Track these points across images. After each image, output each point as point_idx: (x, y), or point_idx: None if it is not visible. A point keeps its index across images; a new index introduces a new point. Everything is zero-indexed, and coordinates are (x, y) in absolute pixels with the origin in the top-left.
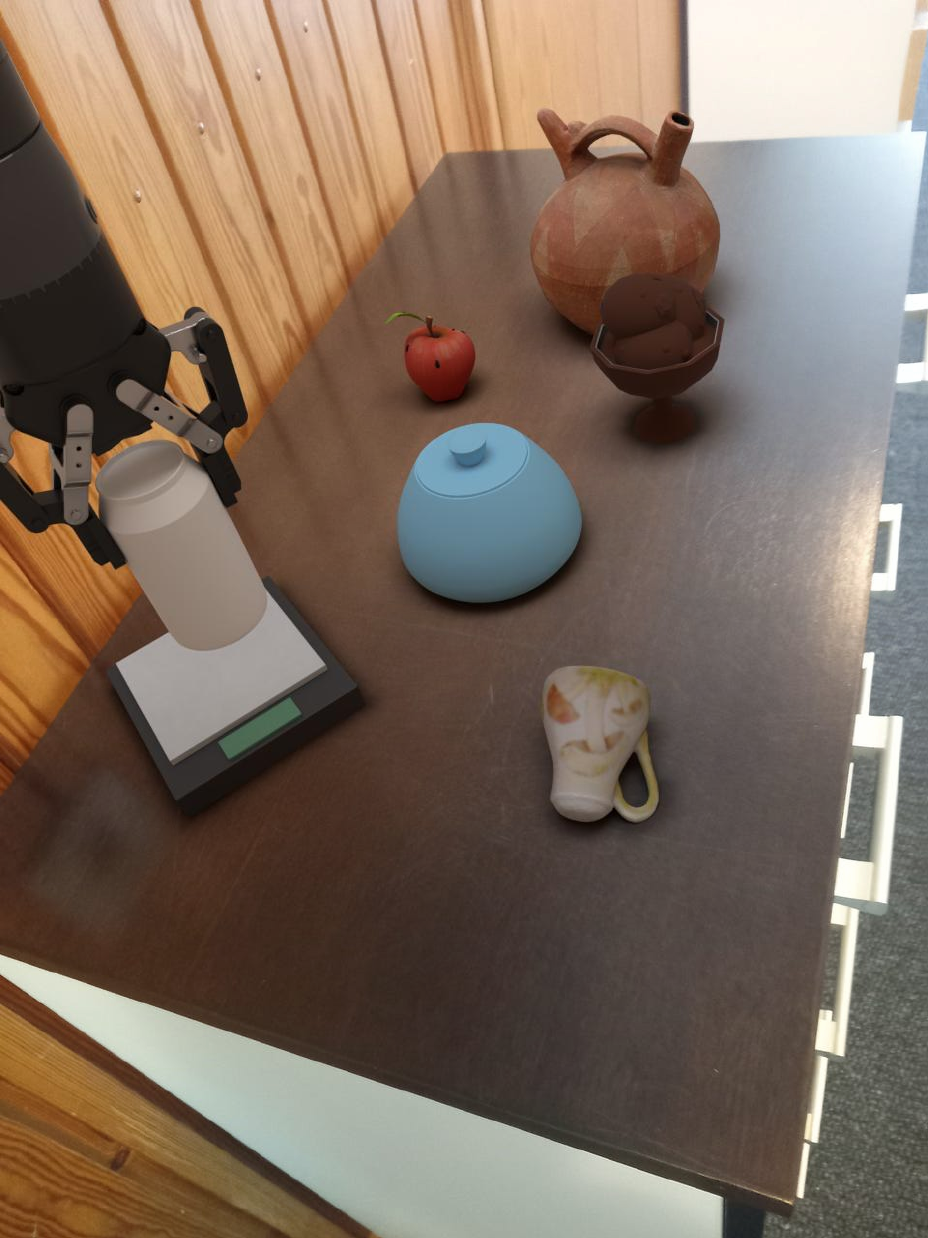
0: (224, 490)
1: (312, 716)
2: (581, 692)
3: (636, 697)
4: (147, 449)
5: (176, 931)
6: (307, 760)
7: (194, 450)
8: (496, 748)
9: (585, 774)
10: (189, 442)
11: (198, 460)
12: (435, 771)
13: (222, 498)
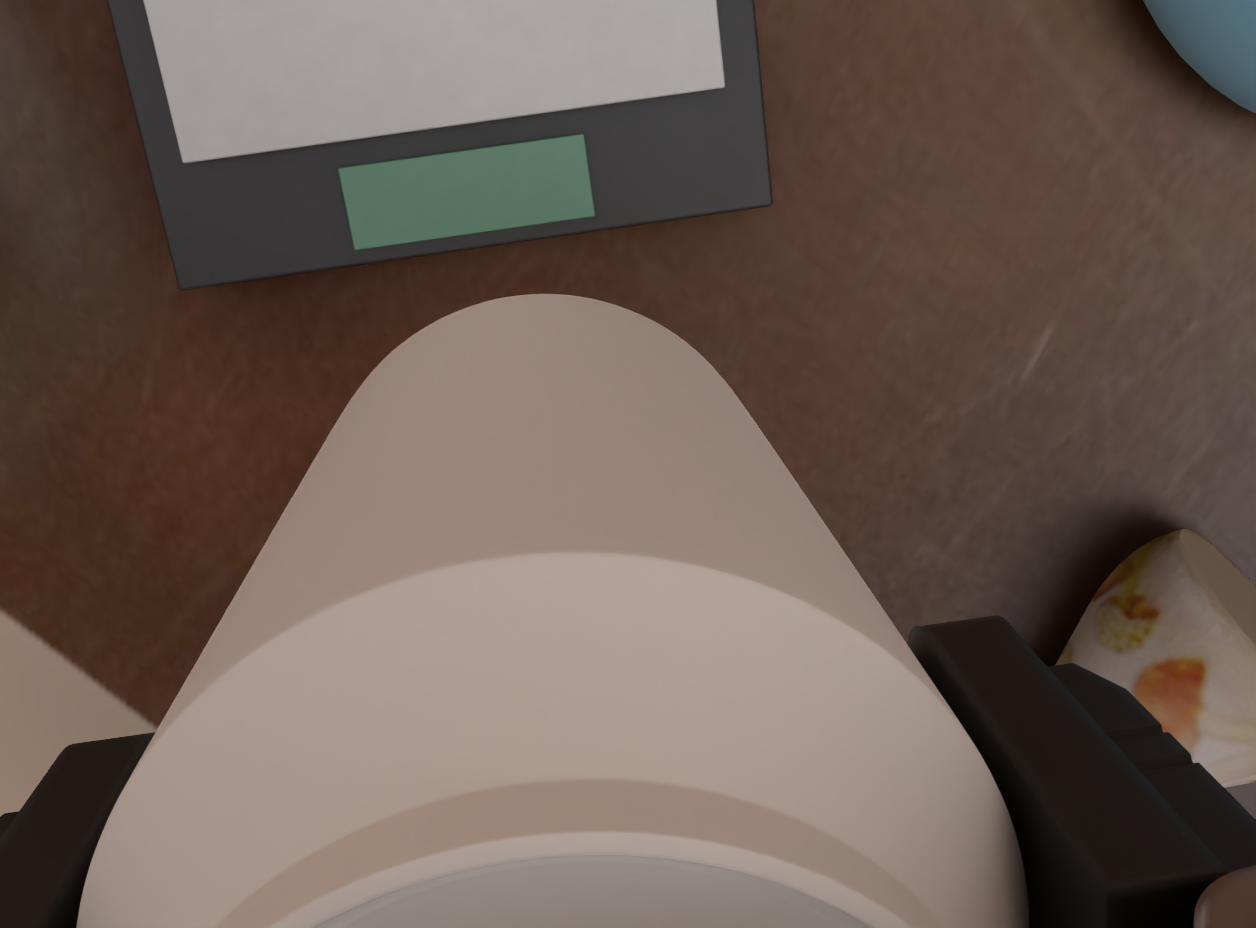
0: None
1: (618, 227)
2: (1240, 743)
3: None
4: (727, 926)
5: (127, 558)
6: (549, 275)
7: (1079, 923)
8: (960, 503)
9: None
10: (1103, 888)
11: (1014, 764)
12: (813, 485)
13: None
